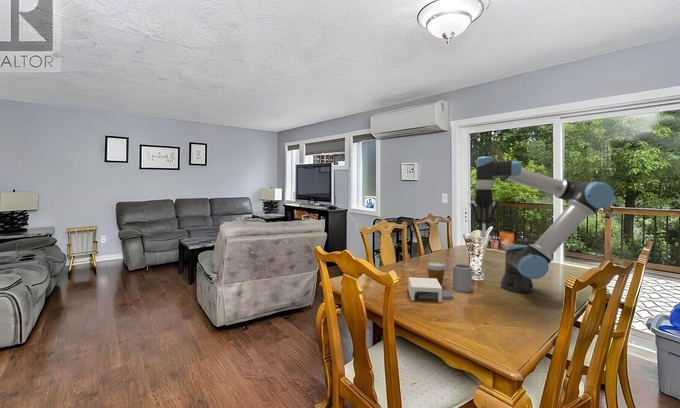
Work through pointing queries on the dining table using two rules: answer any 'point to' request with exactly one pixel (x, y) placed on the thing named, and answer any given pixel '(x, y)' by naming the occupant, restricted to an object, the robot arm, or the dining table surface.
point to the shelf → (424, 286)
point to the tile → (434, 295)
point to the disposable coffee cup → (436, 271)
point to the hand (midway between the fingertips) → (482, 237)
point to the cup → (462, 277)
